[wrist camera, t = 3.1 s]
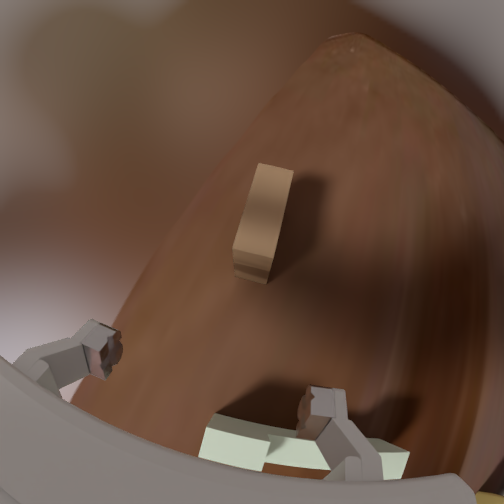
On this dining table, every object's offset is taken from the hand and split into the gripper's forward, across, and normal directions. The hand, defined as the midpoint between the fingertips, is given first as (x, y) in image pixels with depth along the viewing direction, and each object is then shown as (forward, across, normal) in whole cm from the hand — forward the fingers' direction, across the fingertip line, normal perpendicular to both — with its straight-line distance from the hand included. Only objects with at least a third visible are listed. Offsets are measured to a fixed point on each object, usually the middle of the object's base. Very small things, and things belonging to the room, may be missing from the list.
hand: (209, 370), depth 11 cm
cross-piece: (+19, 0, +1) cm, 19 cm away
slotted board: (+6, -8, +14) cm, 17 cm away
